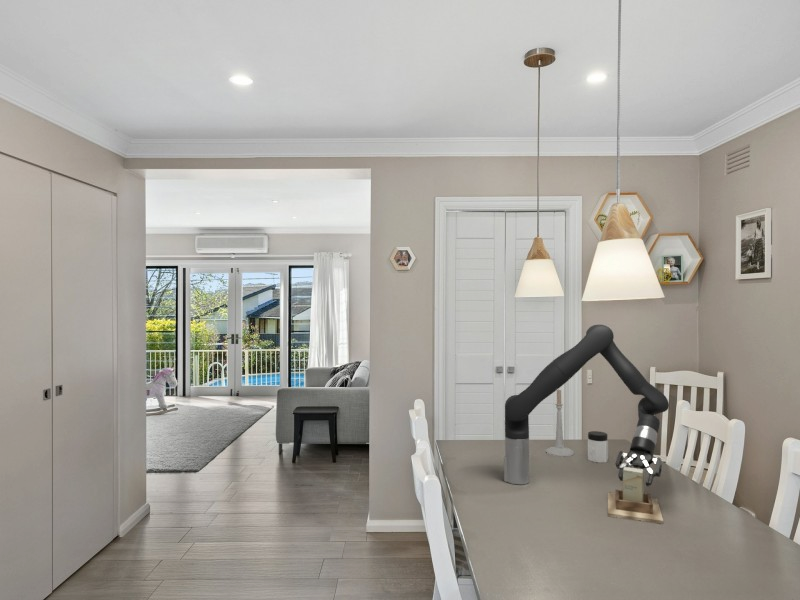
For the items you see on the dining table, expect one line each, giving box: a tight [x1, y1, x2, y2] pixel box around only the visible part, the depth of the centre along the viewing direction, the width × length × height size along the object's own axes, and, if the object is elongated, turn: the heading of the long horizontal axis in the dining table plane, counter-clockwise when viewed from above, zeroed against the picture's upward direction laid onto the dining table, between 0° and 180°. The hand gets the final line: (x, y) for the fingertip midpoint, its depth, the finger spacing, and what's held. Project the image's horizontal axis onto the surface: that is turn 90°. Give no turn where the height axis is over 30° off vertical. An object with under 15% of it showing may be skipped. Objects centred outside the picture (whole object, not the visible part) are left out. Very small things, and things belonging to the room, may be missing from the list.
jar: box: [587, 430, 609, 464], centre depth 228 cm, size 9×8×12 cm
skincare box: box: [622, 467, 644, 503], centre depth 171 cm, size 6×4×12 cm
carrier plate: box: [607, 489, 664, 524], centre depth 171 cm, size 16×20×4 cm
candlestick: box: [545, 389, 575, 457], centre depth 240 cm, size 13×13×30 cm
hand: (633, 482), depth 172 cm, fingers open, 8 cm apart
